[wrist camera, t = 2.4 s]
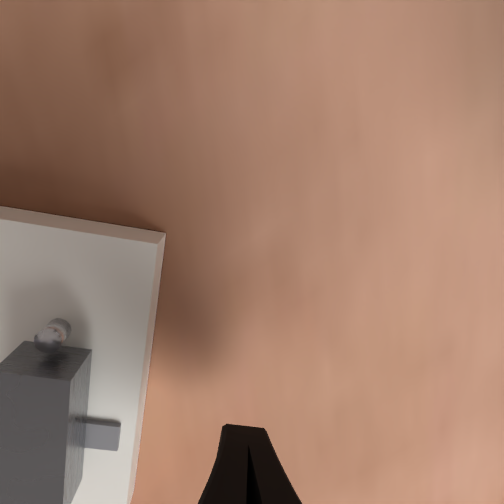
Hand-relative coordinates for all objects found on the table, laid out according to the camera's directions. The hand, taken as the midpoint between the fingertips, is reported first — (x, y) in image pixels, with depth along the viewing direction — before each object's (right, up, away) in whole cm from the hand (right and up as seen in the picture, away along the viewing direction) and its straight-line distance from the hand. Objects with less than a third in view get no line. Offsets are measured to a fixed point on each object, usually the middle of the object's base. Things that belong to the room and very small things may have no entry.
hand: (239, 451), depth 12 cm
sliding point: (-6, +2, 0) cm, 6 cm away
